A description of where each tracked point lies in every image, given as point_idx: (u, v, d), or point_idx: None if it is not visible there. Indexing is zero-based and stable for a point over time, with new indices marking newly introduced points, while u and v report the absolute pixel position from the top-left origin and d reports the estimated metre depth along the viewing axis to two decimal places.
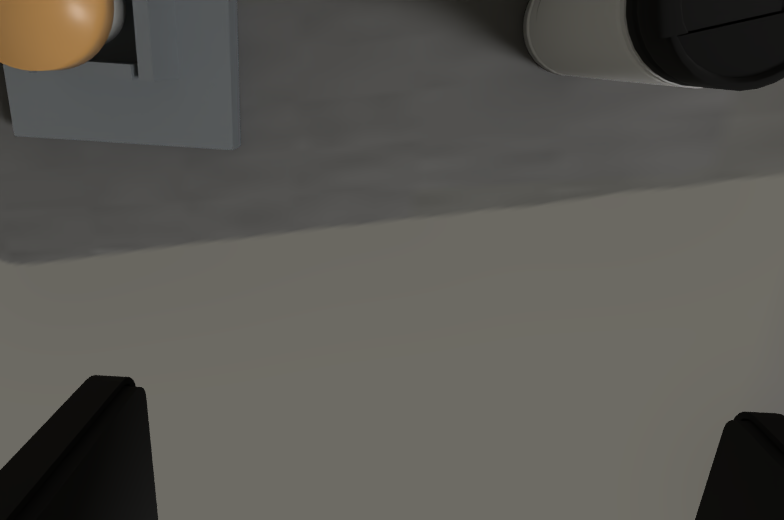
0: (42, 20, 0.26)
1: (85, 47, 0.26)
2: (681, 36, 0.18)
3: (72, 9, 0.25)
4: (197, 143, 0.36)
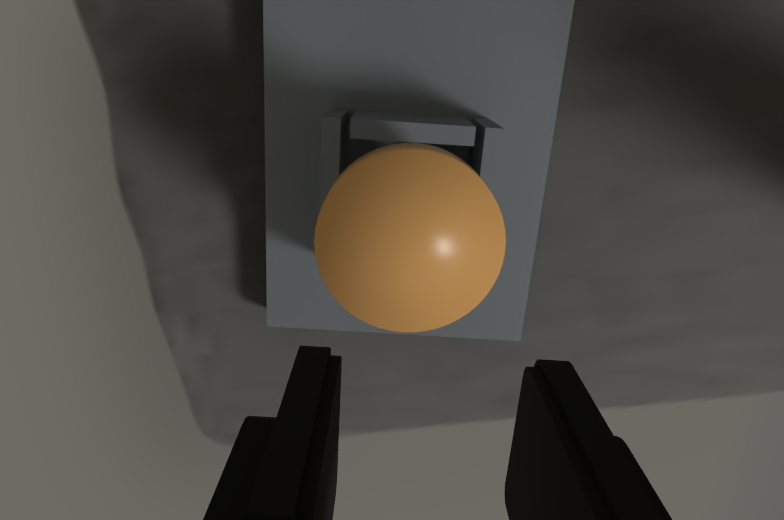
0: (431, 277, 0.20)
1: (473, 305, 0.21)
2: None
3: (472, 266, 0.20)
4: (480, 334, 0.31)
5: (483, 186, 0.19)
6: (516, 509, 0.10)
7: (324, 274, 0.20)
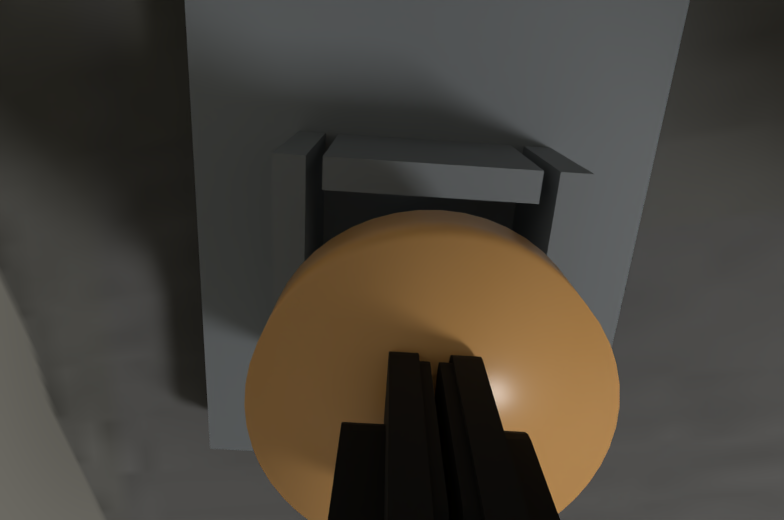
0: None
1: None
2: None
3: (552, 450, 0.10)
4: None
5: (581, 308, 0.09)
6: None
7: (267, 463, 0.11)
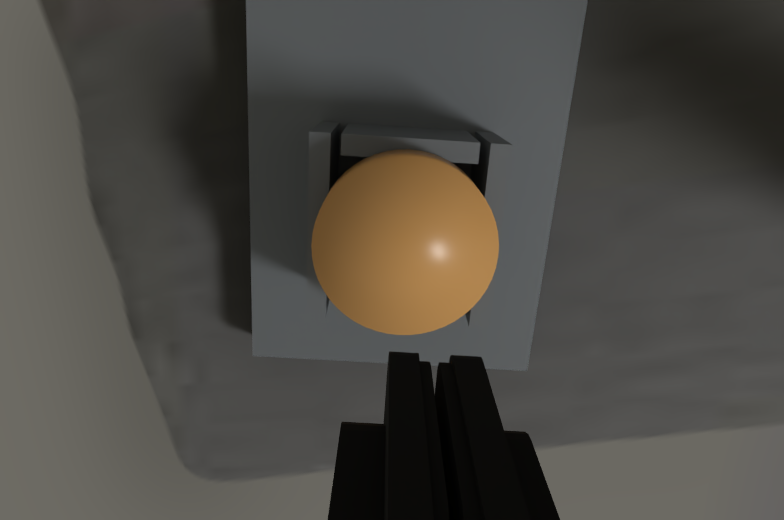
0: (426, 281, 0.21)
1: (468, 308, 0.21)
2: None
3: (467, 270, 0.21)
4: None
5: (476, 192, 0.20)
6: None
7: (321, 278, 0.21)
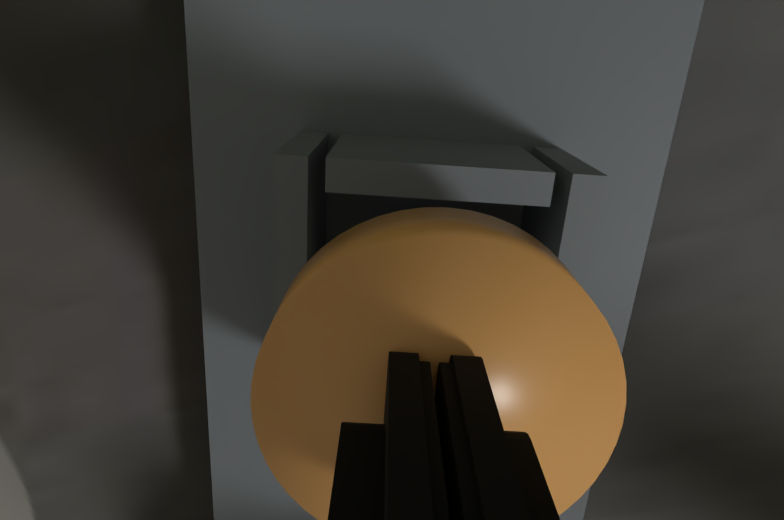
0: None
1: None
2: None
3: None
4: None
5: None
6: None
7: None
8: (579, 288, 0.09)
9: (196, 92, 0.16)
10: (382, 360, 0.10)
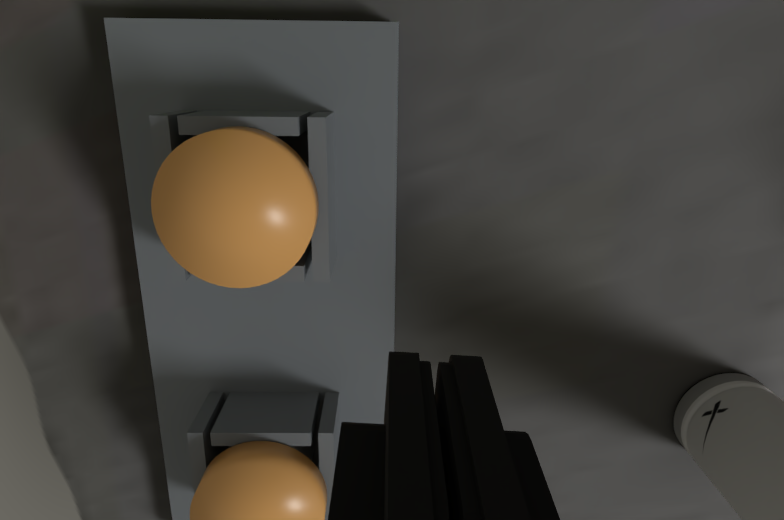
0: None
1: None
2: None
3: None
4: None
5: (301, 481, 0.28)
6: None
7: None
8: (280, 149, 0.23)
9: (117, 91, 0.28)
10: (205, 188, 0.23)
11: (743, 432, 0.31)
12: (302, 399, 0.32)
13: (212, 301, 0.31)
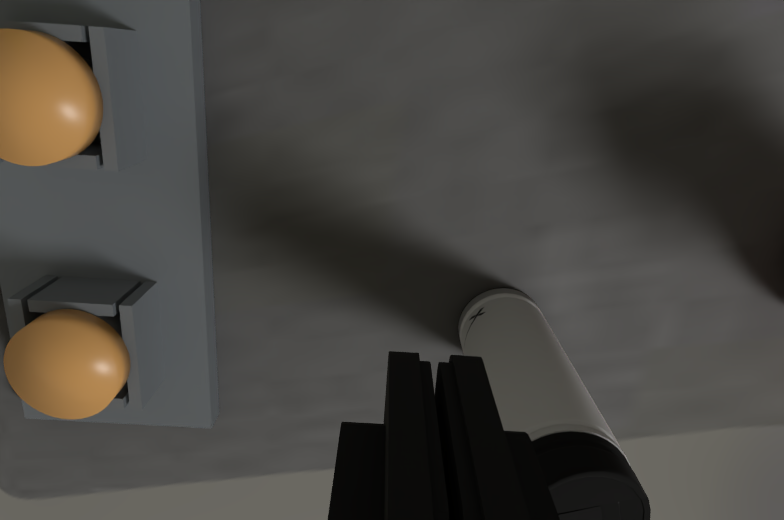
0: (77, 389, 0.35)
1: None
2: None
3: (100, 383, 0.34)
4: (181, 423, 0.42)
5: (95, 340, 0.33)
6: None
7: (14, 387, 0.35)
8: (53, 48, 0.28)
9: None
10: None
11: (485, 328, 0.36)
12: (121, 284, 0.38)
13: (43, 194, 0.36)
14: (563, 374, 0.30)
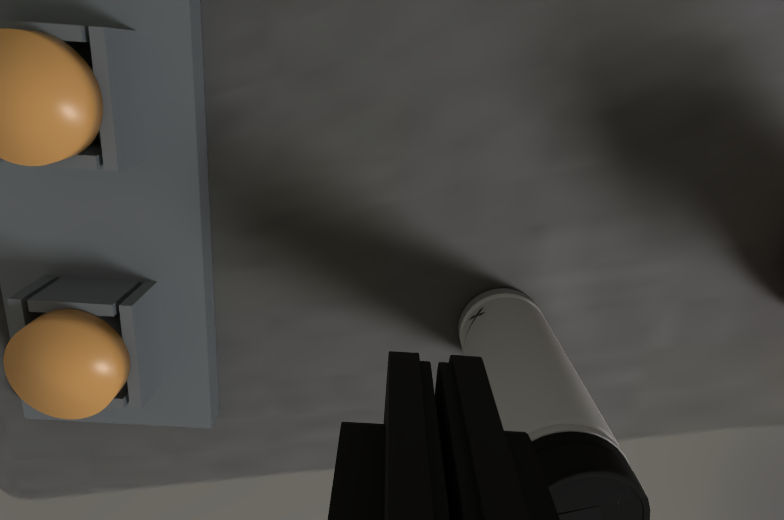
0: (77, 389, 0.35)
1: None
2: None
3: (100, 383, 0.34)
4: (181, 423, 0.42)
5: (95, 340, 0.33)
6: None
7: (14, 387, 0.35)
8: (53, 48, 0.28)
9: None
10: None
11: (485, 328, 0.36)
12: (121, 284, 0.38)
13: (43, 194, 0.36)
14: (563, 375, 0.30)
